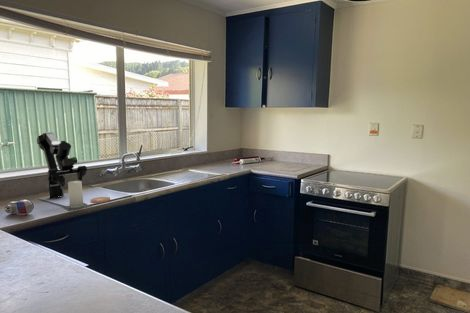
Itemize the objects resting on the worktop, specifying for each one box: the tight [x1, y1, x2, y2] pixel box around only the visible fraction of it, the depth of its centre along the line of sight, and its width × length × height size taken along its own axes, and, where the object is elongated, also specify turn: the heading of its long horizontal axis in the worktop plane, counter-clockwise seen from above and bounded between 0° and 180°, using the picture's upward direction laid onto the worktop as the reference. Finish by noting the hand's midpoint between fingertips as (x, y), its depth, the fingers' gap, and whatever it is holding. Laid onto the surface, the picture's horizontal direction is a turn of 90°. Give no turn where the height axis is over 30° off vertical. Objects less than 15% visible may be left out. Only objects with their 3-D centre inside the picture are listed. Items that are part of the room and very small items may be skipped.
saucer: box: [90, 196, 111, 204], centre depth 185 cm, size 10×10×1 cm
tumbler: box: [67, 180, 84, 209], centre depth 172 cm, size 6×6×13 cm
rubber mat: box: [61, 202, 92, 212], centre depth 173 cm, size 11×11×1 cm
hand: (72, 185), depth 175 cm, fingers open, 9 cm apart
